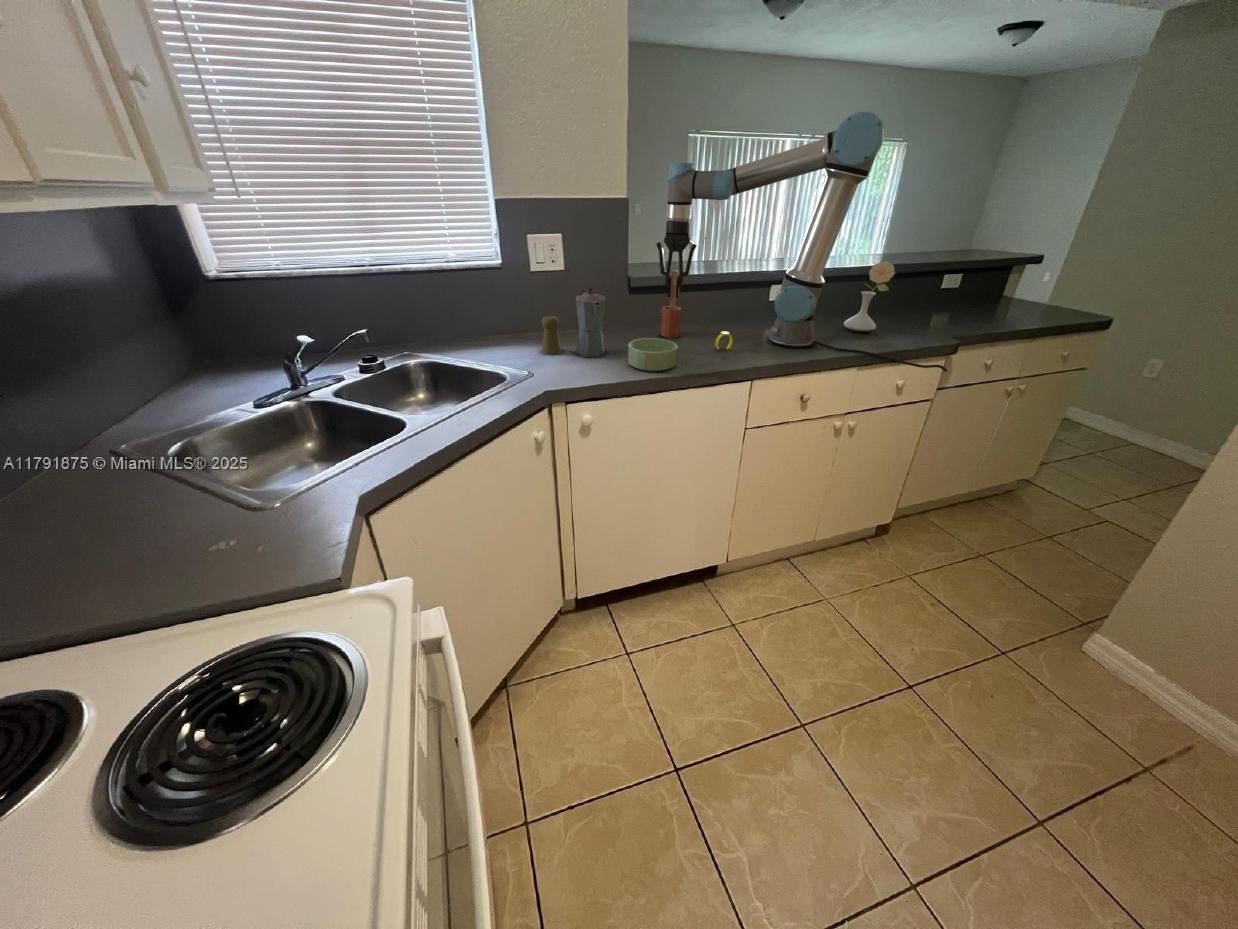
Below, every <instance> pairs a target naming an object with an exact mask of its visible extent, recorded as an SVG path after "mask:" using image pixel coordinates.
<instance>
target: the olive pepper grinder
mask: <svg viewBox="0 0 1238 929" xmlns="http://www.w3.org/2000/svg"><path fill="white" fill-rule="evenodd" d="M559 325H560V321H559V319H558V318H557V317H556V316H553V315H547V316H544V317H543V318H542V319H541V326H542V327H543V338H542V354H545V355H550V356H551V355H553V356H554V355H558V354H560V353H562V348H561V343H560V342H561V341H560V336H559V331H558V327H559Z"/></svg>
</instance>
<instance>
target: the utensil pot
mask: <svg viewBox="0 0 1238 929" xmlns="http://www.w3.org/2000/svg"><path fill="white" fill-rule="evenodd" d="M681 317H682V307H680V306H678V305H676V309H675V310H669V305H665V306H662V310H661V324H660V335H661V336H662V337H665V338H677V337H679V336H680V329H681Z"/></svg>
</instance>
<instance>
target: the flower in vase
mask: <svg viewBox="0 0 1238 929" xmlns="http://www.w3.org/2000/svg"><path fill="white" fill-rule="evenodd" d="M895 270H896V269H895V265H894V263H891V262H890V261H887V260H884V261H879V262H878V263H874V265H873V266H872V267H871V269H870V270H869V272H868V276H869V280H870V281H872V282H873V283H875V284H876V286H875V287H874V288H872V287H871V286H870V285H869V284H867V283H866V282H865V281H863V284H864V285H865V286H867V287H868V288H870V289H871V291H868V290H867V291H866V290H865V291H861V292H860V293H861V295H862V303H861V307H860V310H859V312H858V313H856V314H855V315H853V316H851V317H849V318H848V319H846V320H845V321H844V323H843V326H844V327H845V328H846V329H848V330H850V331H854V332H859V333H861V332H862V333H863V332H864V333H865V332H866V333H868V332H872V331H874V330H876V328H877V324H875V321H874V320H873V319H872V318H871V317H870V316H869V314H868V309H869V306H870V303H871V301H872V300H873V297H874V296H875V295H877V293H876V292H874V290H875V289H876V288H877V289H878V291H879V292H888V291H890V289H889V287H888V285H886V284H885V283H887V282H890V280H891V278H893V277H894V275H895V274H896V271H895Z"/></svg>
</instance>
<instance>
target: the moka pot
mask: <svg viewBox="0 0 1238 929" xmlns="http://www.w3.org/2000/svg"><path fill="white" fill-rule="evenodd" d="M587 291H588V292H586V291H585V290H584V289H581V293H580V295H576V297H575V308H576V315H577V322H578V328H579V329H578V335H577V336H578V337H577V342H576V353H577V354H578V355H579V356H580V357H585V358H598V357H601V356H603V355H604V354H605V351H606V350H605V342H604V335H603V324H604V316H605V308H606V301H607V300H606V296H604V295H600V294H597V293H594V288H587Z"/></svg>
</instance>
